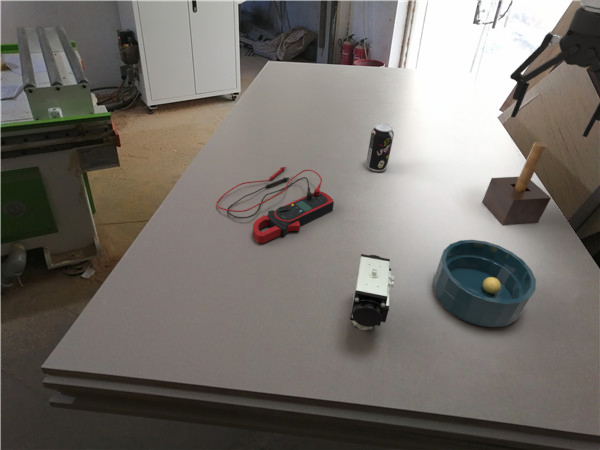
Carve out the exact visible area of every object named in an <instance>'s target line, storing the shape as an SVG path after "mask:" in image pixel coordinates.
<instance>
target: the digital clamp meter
mask: <svg viewBox="0 0 600 450" xmlns="http://www.w3.org/2000/svg"><path fill="white" fill-rule="evenodd" d="M287 166H288V165H287V164H286V165H285V166H282V167H280V168H279V169H278V170H277V171H276V172H275V173H273V174H272V175H271V176H269V179H264V180H253V181H246V182H241V183H239V184H237V185H235V186H233V187H232V188H231V189H229V190H228V191H226V192H225V193H224V194H222V195H221V196H220V197H219V198H218V200H217V201H216V204H215V206H216V207H217V208H218V209H220V210H223V211H227V213H228V215H230V216H231V217H234V218H235V219H236V218H237V219H248V218H252V217H253V216H256V214H258V212H259V211H260V208H261V206H262V205H263V204H264V203H267V202H269V201H270V200H272V199H275V198H276V197H278V196H279V195H281V194H283V193H284V192H286V190H287V189H288V188H290V187H291V186H292V185H294V184H296V183H297V182H299V181H301V180H304V179H306V182H307V192H306V195H305V196H302V197H300V198H298V199H296V200H293V201H292V202H289V203H287V204H285V205H283V206H279V207H278V208H277V209H275V210H273V209H271V210H268V211H267V214H265V215H262V216H260V217H259V218H257V219H255V221H254V222H253V224H252V235H253V239H254V240H255V242H256V243H258V244H265V243H266V242H269V241H271V240H274V239H275V238H277V237H280V236H281V237H285V236H286V235H287V234H288V233H289V232H298V231H299V232H300V230H301V229H300V228H301V227H302V226H305V225H306V224H308V223H310V222H312V221H314V220H316V219H319V218H321V217H322V216H324V215H327V214H328V213H330V212H332V211H334V200H333V198H332V197H331V196H330V195H329V194H327V193H326V192H324V191H321V190H320V189H321V187H322V182H323V178H322V176H321V174H319V173H318V172H317V171H315V170H313V169H303V170H302V171H300V172H298V173H297V174H296V175H294V176H293V175H292V176H288V177H283V178H281V179H279V180H276V181H274V182H272V183H271V182H270V183H267V184H266V185H264V186H263V187H261V188H260V189H257V190H255V191H254V192H250V193H249V194H246V195H244V196H242V197H241V198H239V199H238V200H236V201H235V202H233V203H232V204H230V206H228V207H227V208H223V207H222V206H221V207H220V206H219V202H220V200H222V198H223V197H225V196H226V195H227V194H228V193H230V192H231V191H233V190H234V189H236V188H237V187H239V186H242V185H245V184H253V183H263V182H269V181H273V180H274V179H275V178H276V177H277V176H278V175H280V174H281V173H283V172H284V171H285V170H286V168H287ZM304 172H312V173H314V174H316V175H317V176H318V177H319V179H320V182H319V184H317V187H316V188H315V189H314V190H313V191H314V192H312V191H311V188H310V182H309V179H308V178H307V177H305V176H304V177H301V178H299V179H297V180H295V181H294V182H292V183H290V182H291V181H292V180H293V179H295V178H296V177H298V176H300V175H301V174H302V173H304ZM284 182H287V183H286V186H284V187H283V188H280V189H277V190H276V191H272V192H270V193H269V192H268V193H266V194H264V196H263V198H262V199H261V201H260V202H259V203H257V204H255V205H253V206H251V207H249V208H247V209H243V210H242V209H241V210H237V209H236V210H235V209H230V208H231V207H232V206H234V205H236V204H237V203H238V202H240V201H241V200H243V199H244V198H247V197H248V196H251V195H255V194H256V193H257V192H260V191H261V190H264V189H270V188H271V187H273V186H277V185H280V184H281V183H284ZM289 183H290V184H289ZM278 192H279V193H278ZM275 193H276V195H273V196H272V197H269V198H267V196H269V195H272V194H275ZM265 198H267V199H266V200H265ZM256 207H258V208H257V210H256V211H255V212H254V213H253V214H251V215H248V216H237V215H234V214H232V212H234V213H243V212H244V213H245V212H248V211H251V210H253V209H254V208H256ZM267 226H269V227H270V228H268V229H266V230H264V231H261V229H263V228H265V227H267Z"/></svg>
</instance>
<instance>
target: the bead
mask: <svg viewBox="0 0 600 450" xmlns="http://www.w3.org/2000/svg"><path fill="white" fill-rule="evenodd" d="M483 288H484V290H485V291H486V292H488V293H491V294H494V293H497V292H498V291H499V290H500V288H501V283H500V281H499V280H498V279H496V278H494V277H488V278H486V279H485V280H484V281H483Z"/></svg>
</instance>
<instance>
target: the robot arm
mask: <svg viewBox="0 0 600 450" xmlns="http://www.w3.org/2000/svg"><path fill="white" fill-rule="evenodd" d="M579 5H580V7H578V8H577V9H576V10H575V12H574V14H573V16H572V19H571V21H570V23H569V26H568V28H567V31H566V32H565V34H564V35H559V34H556V33H555V32H554V31H549V32H547V34H546V35H544V37H543V39H542V42H541V43H540V45H539V46H538V47H537V48H536V49H535V50H534V51H533V52H532V53H531V54H530V55H529V56H528V57H527V58H526V59H525V60H524V61H523V62H522V63H521V64H520V65H519V66H518V67H517V68H515V70H514V71H513V72H512V73H511V74H510V76H509V78H510V79H511V80H514V81H515V82H516V87H515V90H514V92H513V95H512V99H513V100H515V101H516V103H515V105H514V108H513V110H512V112H511V114H510V118H516V116H517V115H518V114H519V111H520V108H521V106H522V103H523V101H524V98H525V96H526V94H527V92H528V89H529V86H530V83H529V81H531V80H533V79H534V78H536V77H538V76H540V75H541V74H543V73H544V72H546V71H548V70H549V69H551V68H552V67H554V66H556V65H558V64H559V63H561V62H564V63H565V64H566V65H569V66H578V67H579V68H583V69H585V68H589V67H591V69H592V72H593V74H594V77H595V79H596V82H597V84H598V87H599V88H600V0H579ZM555 44H558V46H559V49H560V52H559V53H557V54H555V55H554V56H552V57H551V58H549V59H547V60H546V61H545V62H543V63H541V64H539V65H538V66H537V67H535V68H533V69H531V70H530V71H529V72H527V73H526V74H522V73H523V72H524V71H525V70H526V69H527V68H528V67H529V66H530V65H531V64H532V63H533V62H534V61H535V60H536V59H538V57H539V56H541V54H542V53H543V52H545V50H546V49H547V48H548V47H549V48H551V47H553V46H554V45H555ZM596 121H599V122H600V101H599V103H598V104H597V105H596V108H595V109H594V112H593V114H592V116H591V117H590V119H589V121H588V123H587V125H586V127H585V129H584V131H583V134H582V137H585V138H587V137H588V135H589V134H590V133H591V130H592V128H593V127H594V124H595V123H596Z"/></svg>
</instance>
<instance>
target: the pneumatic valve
mask: <svg viewBox="0 0 600 450" xmlns="http://www.w3.org/2000/svg"><path fill="white" fill-rule="evenodd" d="M390 261H391V259H390V258H387V257H382V256H379V255H376V254H364V253H361V254H360V257H359V263H358V270H357V273H356V278H355V285H354V290H353V291H354V292H353V297H352V304H351V310H350V317H349V320H350V321H352V323H351V324H352V326H353V327H355V328H356V327H357V329H359V330H361V331H367V330H369V331H371V330H373V329H374V327H376V326H377V327H380V326H381V324H382V323H386V321H387V318H388V314H389V311H390V301H391V300H390V297H391V296H390V295H391V288H394V285H395V282H394V281H395V276H394V275H392V268H390V263H391V262H390Z"/></svg>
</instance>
